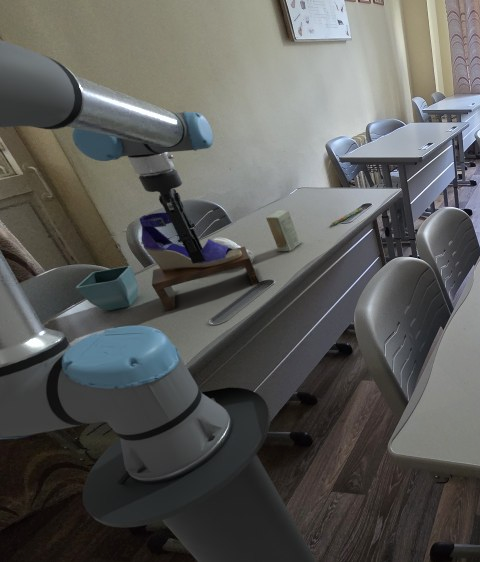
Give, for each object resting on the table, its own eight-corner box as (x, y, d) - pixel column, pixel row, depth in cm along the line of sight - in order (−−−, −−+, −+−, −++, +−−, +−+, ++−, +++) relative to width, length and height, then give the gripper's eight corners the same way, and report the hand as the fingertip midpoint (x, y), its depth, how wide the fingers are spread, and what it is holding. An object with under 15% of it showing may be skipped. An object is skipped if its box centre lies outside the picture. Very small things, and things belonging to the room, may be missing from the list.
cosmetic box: (289, 243, 138) (277, 209, 131) (300, 243, 137) (289, 209, 131) (277, 251, 132) (264, 217, 126) (289, 252, 132) (277, 217, 125)
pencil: (331, 227, 148) (362, 210, 163) (331, 224, 148) (361, 207, 162) (329, 227, 149) (360, 210, 163) (328, 224, 148) (359, 207, 162)
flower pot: (94, 317, 103) (73, 287, 98) (110, 299, 110) (92, 271, 106) (134, 309, 105) (116, 280, 101) (147, 293, 112) (131, 265, 108)
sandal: (236, 264, 107) (212, 211, 100) (153, 275, 104) (123, 222, 96) (245, 251, 114) (224, 201, 107) (168, 261, 111) (141, 210, 103)
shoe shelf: (166, 310, 104) (151, 284, 100) (167, 294, 111) (153, 269, 107) (259, 282, 115) (249, 258, 110) (254, 269, 122) (244, 246, 118)
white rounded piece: (217, 233, 124) (254, 236, 124) (225, 257, 129) (261, 260, 128) (202, 242, 119) (241, 245, 118) (212, 267, 123) (249, 270, 123)
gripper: (175, 177, 91) (217, 265, 102) (175, 161, 105) (211, 240, 117) (134, 184, 87) (182, 275, 99) (139, 167, 101) (181, 248, 113)
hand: (198, 256), depth 108 cm, fingers closed on sandal, 7 cm apart
